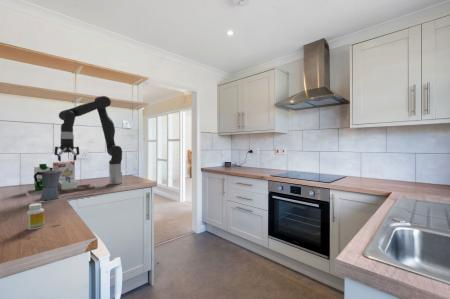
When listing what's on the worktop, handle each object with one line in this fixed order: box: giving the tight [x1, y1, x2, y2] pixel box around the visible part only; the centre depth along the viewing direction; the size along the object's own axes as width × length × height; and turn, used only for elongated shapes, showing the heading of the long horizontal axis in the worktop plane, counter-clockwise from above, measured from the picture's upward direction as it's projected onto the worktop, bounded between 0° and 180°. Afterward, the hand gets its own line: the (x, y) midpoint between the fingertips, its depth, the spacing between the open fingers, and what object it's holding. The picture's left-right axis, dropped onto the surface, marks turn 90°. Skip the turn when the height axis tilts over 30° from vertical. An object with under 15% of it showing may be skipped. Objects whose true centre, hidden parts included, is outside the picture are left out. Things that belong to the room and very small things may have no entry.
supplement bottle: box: [26, 202, 45, 231], centre depth 90 cm, size 5×5×10 cm
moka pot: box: [33, 167, 62, 201], centre depth 134 cm, size 10×15×20 cm, turn 161°
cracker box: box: [52, 160, 76, 182], centre depth 168 cm, size 14×6×21 cm, turn 168°
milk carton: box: [33, 163, 51, 191], centre depth 161 cm, size 9×9×20 cm
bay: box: [57, 182, 96, 195], centre depth 158 cm, size 23×13×9 cm, turn 136°
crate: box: [59, 176, 78, 190], centre depth 155 cm, size 9×10×10 cm
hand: (67, 161), depth 154 cm, fingers open, 8 cm apart
